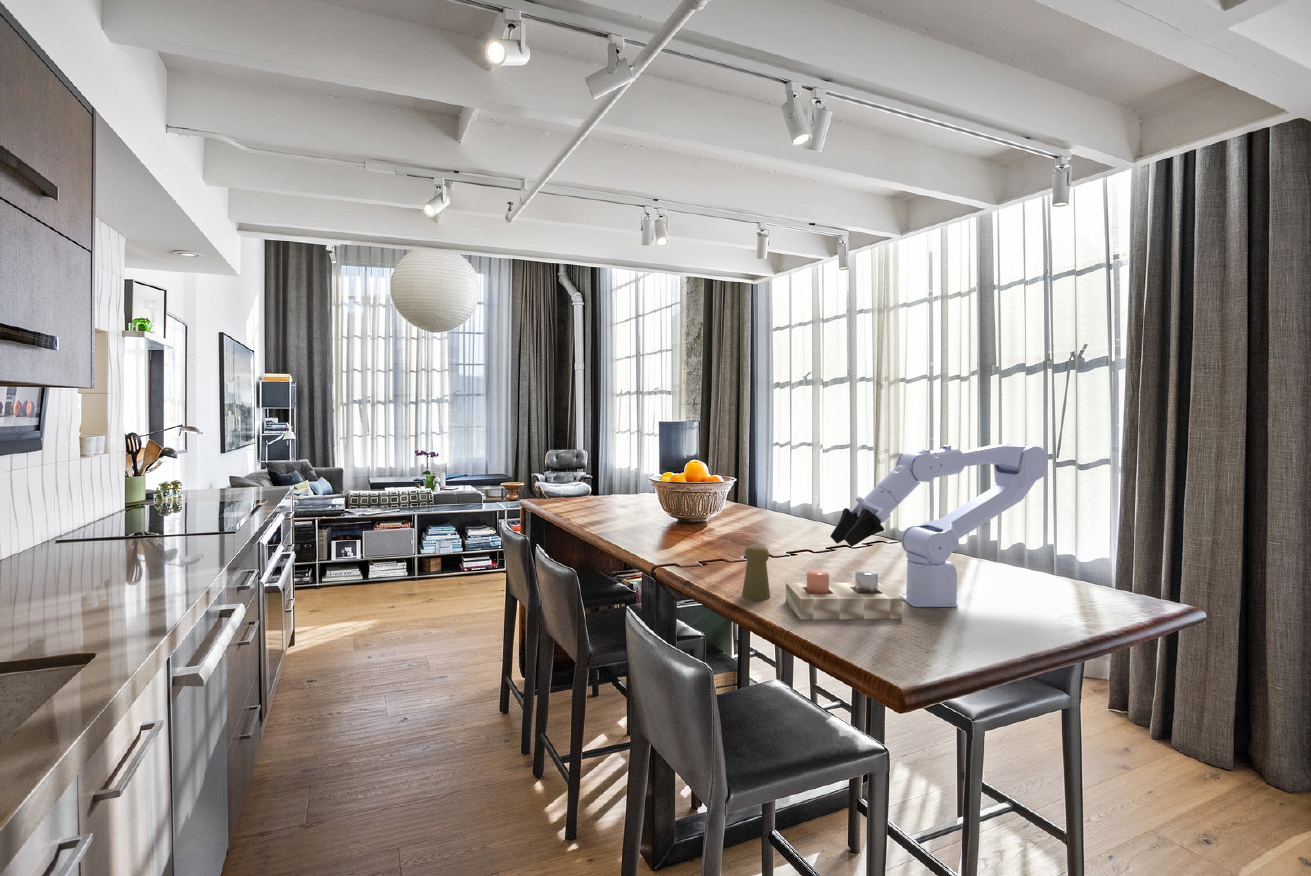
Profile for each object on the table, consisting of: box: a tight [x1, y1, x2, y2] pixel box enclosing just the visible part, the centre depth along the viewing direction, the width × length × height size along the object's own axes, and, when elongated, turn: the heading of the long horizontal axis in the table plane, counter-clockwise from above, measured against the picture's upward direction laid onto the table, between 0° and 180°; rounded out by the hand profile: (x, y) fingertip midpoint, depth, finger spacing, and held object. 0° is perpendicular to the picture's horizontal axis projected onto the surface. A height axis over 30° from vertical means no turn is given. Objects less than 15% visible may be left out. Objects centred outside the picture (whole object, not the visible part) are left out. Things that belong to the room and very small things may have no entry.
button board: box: [785, 582, 903, 620], centre depth 136 cm, size 20×12×4 cm, turn 93°
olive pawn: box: [741, 544, 771, 601], centre depth 145 cm, size 6×6×11 cm
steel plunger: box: [854, 570, 879, 594], centre depth 137 cm, size 4×4×4 cm
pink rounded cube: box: [806, 570, 830, 594], centre depth 136 cm, size 4×4×4 cm
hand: (840, 541), depth 138 cm, fingers open, 7 cm apart
